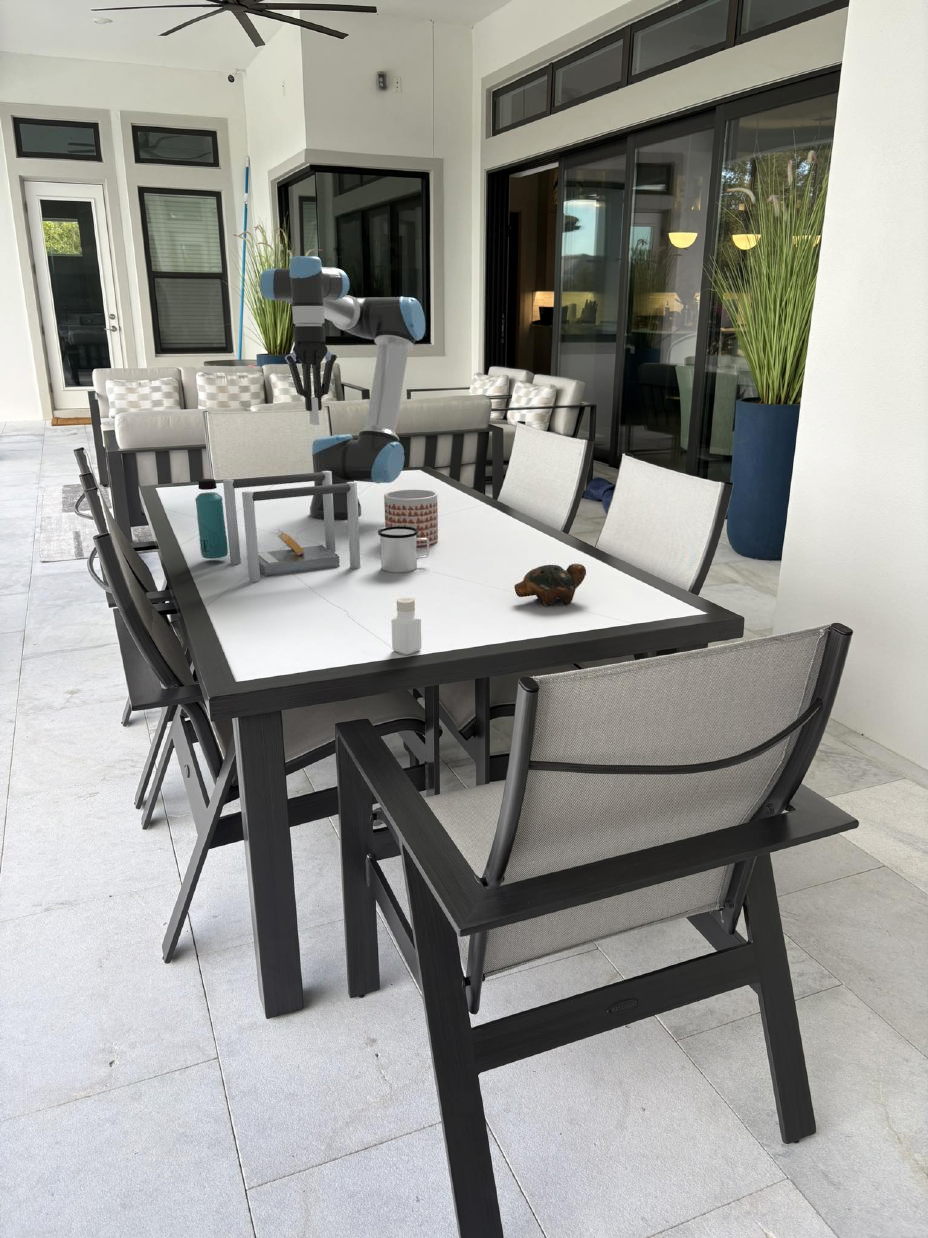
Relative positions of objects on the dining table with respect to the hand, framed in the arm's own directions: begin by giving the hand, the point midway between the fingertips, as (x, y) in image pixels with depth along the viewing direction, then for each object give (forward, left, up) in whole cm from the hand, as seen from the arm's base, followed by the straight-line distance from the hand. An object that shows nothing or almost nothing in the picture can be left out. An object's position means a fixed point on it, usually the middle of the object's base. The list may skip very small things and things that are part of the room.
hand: (314, 424), depth 224 cm
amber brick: (+11, +19, -28) cm, 35 cm away
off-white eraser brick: (+11, +13, -28) cm, 33 cm away
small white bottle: (+13, +83, -31) cm, 89 cm away
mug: (-9, +33, -31) cm, 46 cm away
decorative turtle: (-25, +71, -31) cm, 81 cm away
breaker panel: (+13, +19, -30) cm, 38 cm away
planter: (-21, +11, -31) cm, 39 cm away
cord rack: (+13, +19, -30) cm, 38 cm away
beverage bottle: (+29, +6, -31) cm, 43 cm away
